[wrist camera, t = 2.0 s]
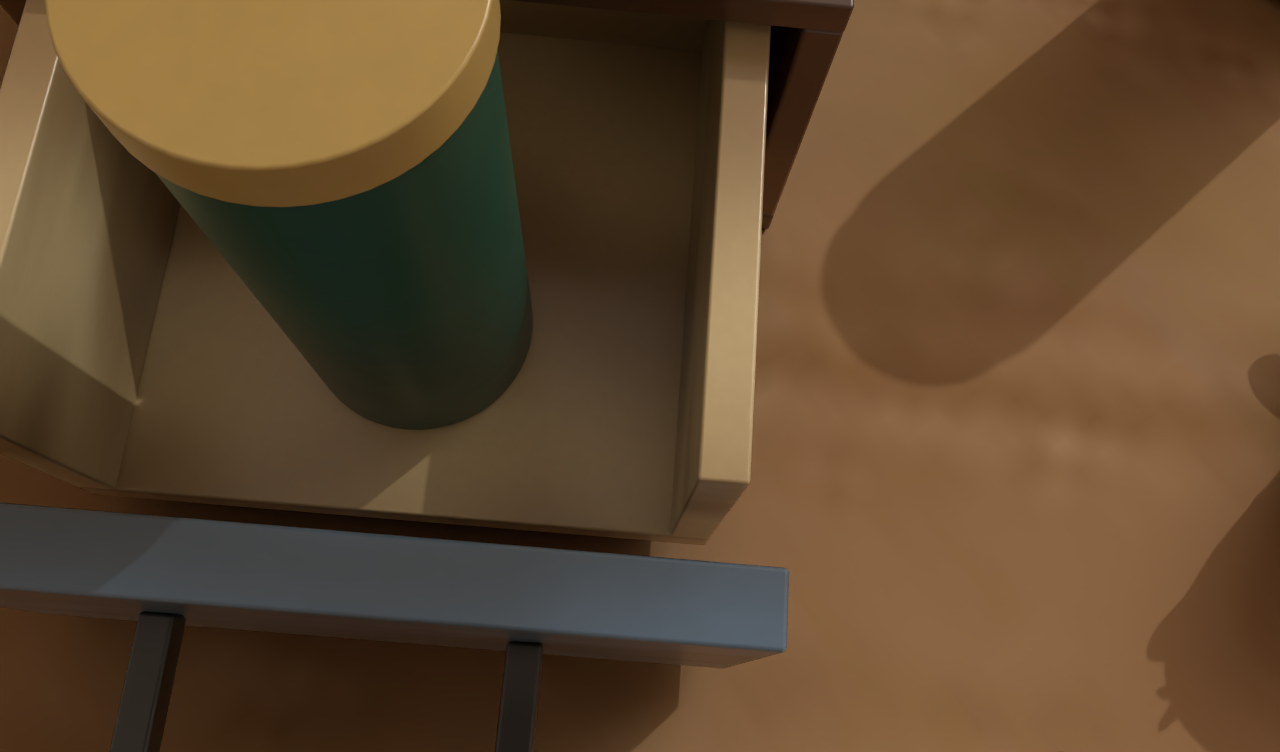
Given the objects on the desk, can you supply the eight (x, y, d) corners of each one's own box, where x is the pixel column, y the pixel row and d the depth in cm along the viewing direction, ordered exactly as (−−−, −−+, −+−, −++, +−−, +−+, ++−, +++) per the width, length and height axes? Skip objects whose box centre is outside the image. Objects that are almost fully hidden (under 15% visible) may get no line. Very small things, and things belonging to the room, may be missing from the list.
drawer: (715, 904, 20) (776, 996, 14) (-17, 848, 20) (-307, 918, 13) (756, 55, 26) (813, -161, 19) (188, 1, 25) (54, -237, 19)
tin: (487, 468, 21) (389, 231, 11) (266, 389, 21) (-44, 81, 11) (570, 262, 23) (557, -129, 12) (362, 190, 23) (171, -254, 12)
